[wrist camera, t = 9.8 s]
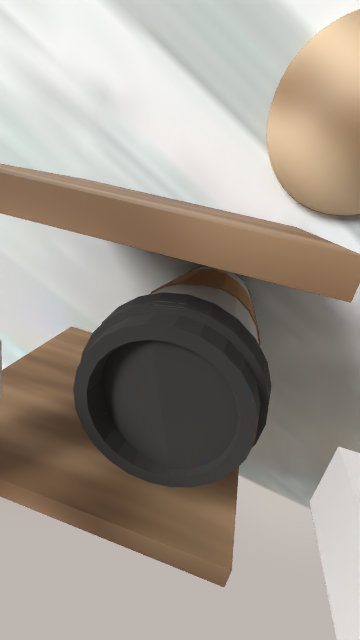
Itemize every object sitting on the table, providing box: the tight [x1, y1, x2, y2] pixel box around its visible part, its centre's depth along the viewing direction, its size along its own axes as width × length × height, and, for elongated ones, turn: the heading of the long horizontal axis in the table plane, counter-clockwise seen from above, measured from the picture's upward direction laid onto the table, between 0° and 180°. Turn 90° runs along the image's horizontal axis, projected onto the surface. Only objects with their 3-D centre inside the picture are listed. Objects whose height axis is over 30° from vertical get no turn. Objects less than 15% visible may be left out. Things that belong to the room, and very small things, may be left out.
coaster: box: [267, 9, 360, 215], centre depth 19 cm, size 11×11×1 cm
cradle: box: [0, 164, 360, 587], centre depth 19 cm, size 14×17×16 cm
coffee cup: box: [73, 266, 271, 488], centre depth 18 cm, size 8×8×15 cm
